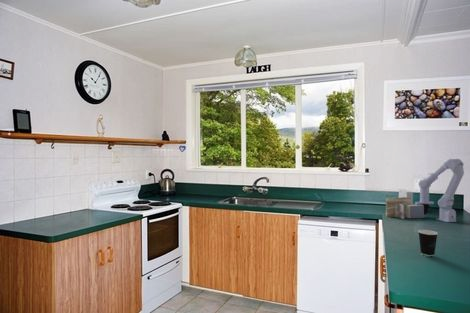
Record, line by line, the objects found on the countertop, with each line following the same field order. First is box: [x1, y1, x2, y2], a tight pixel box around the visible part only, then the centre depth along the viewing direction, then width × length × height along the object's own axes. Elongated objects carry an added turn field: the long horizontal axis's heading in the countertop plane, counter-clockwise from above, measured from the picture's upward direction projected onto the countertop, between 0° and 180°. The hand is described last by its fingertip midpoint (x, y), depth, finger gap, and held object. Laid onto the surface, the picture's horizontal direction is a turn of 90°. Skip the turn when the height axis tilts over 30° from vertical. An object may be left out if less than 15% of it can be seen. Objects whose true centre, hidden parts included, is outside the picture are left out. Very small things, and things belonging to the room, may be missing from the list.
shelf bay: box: [385, 197, 411, 220], centre depth 229 cm, size 9×20×14 cm, turn 101°
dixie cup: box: [417, 229, 439, 256], centre depth 143 cm, size 8×8×11 cm
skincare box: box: [398, 188, 414, 205], centre depth 264 cm, size 21×6×16 cm, turn 168°
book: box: [404, 204, 425, 219], centre depth 229 cm, size 4×12×9 cm, turn 101°
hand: (424, 214), depth 231 cm, fingers closed
